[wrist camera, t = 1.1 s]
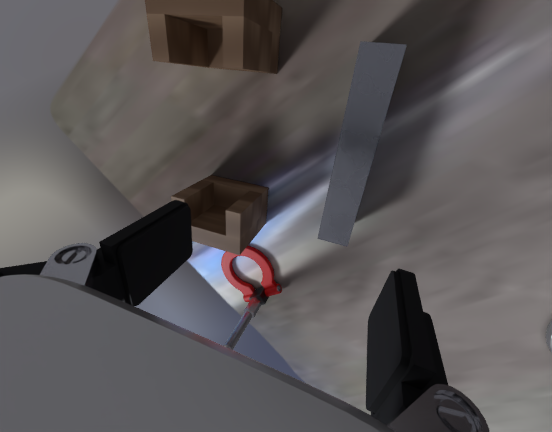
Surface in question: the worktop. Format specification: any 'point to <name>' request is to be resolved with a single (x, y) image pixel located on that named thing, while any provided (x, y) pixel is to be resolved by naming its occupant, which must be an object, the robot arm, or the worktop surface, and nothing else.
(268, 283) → the tow hook
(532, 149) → the worktop surface
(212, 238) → the posts
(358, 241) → the worktop surface
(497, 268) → the worktop surface
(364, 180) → the rail
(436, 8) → the worktop surface
